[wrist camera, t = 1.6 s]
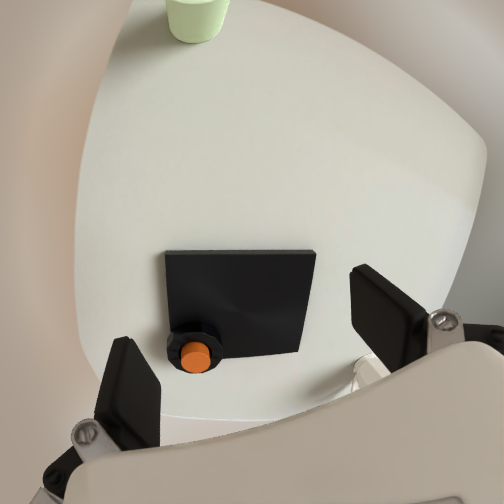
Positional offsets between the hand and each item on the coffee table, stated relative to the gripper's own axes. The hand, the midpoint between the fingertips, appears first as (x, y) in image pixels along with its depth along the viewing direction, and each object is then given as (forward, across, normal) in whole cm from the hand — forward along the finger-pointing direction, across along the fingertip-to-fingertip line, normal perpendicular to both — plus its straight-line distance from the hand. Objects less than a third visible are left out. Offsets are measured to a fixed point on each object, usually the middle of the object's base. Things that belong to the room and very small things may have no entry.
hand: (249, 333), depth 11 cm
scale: (+17, 0, +10) cm, 19 cm away
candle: (+17, -3, -20) cm, 26 cm away
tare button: (+14, +6, +12) cm, 20 cm away
